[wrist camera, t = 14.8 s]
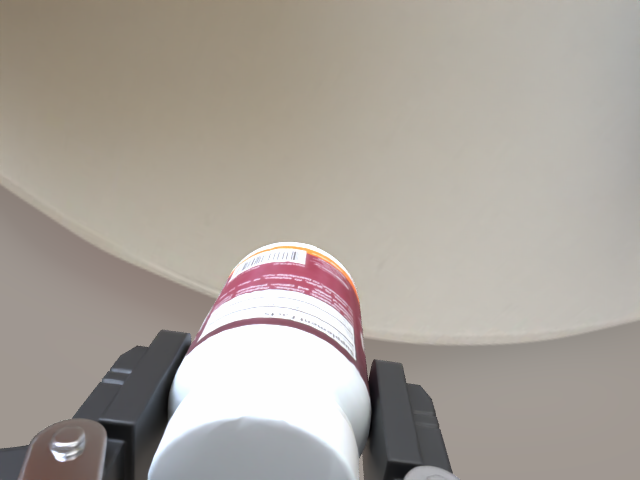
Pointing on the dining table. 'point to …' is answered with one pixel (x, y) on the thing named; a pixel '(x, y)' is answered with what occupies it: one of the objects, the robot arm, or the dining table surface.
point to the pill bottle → (272, 377)
